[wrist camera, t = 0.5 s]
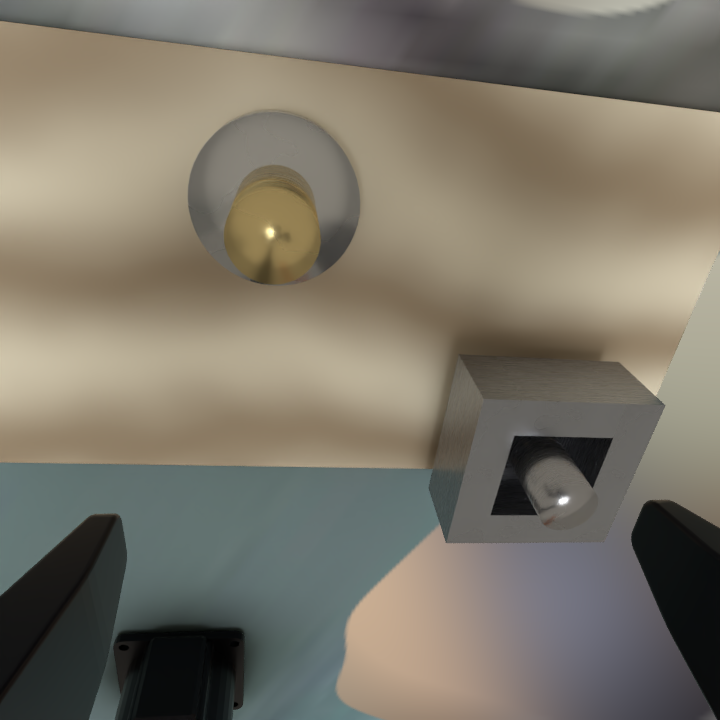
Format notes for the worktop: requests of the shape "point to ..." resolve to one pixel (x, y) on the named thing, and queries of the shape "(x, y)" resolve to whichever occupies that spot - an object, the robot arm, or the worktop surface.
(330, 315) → the board
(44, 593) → the robot arm
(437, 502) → the grey square frame
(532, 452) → the stand
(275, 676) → the worktop surface
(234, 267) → the hub
